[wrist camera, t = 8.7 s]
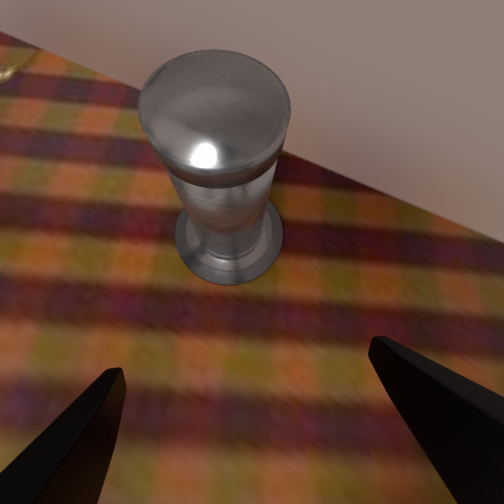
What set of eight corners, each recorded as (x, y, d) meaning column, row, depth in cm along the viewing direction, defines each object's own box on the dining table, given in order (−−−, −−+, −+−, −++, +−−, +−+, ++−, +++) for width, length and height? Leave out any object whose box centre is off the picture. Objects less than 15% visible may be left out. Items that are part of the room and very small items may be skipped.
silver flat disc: (302, 243, 20) (306, 238, 19) (217, 308, 18) (216, 307, 17) (240, 171, 22) (240, 162, 21) (156, 223, 20) (151, 217, 19)
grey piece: (270, 248, 19) (314, 144, 8) (208, 269, 18) (158, 186, 7) (249, 193, 20) (260, 38, 9) (189, 211, 19) (123, 65, 8)
